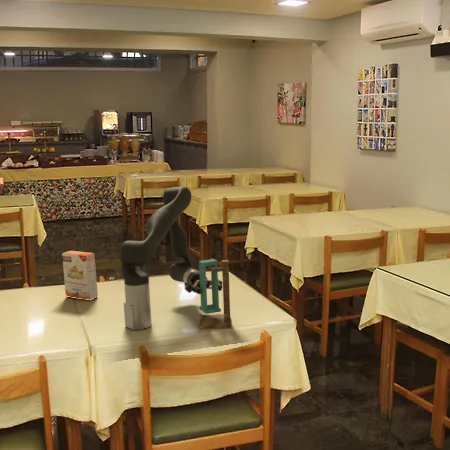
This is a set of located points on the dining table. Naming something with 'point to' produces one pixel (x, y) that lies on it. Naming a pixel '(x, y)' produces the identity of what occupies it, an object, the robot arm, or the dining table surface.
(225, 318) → the hook stand
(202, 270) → the teal loop
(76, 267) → the cracker box
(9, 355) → the dining table surface
